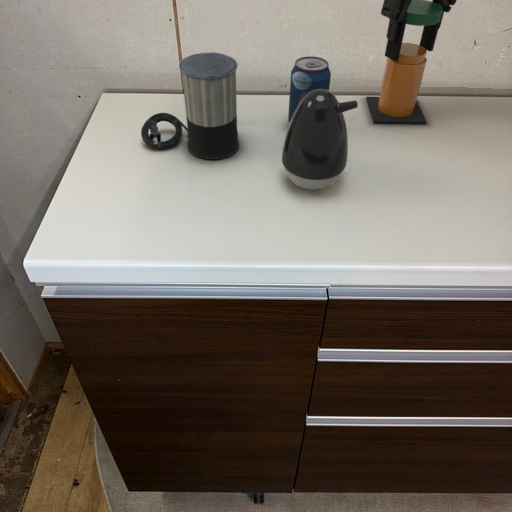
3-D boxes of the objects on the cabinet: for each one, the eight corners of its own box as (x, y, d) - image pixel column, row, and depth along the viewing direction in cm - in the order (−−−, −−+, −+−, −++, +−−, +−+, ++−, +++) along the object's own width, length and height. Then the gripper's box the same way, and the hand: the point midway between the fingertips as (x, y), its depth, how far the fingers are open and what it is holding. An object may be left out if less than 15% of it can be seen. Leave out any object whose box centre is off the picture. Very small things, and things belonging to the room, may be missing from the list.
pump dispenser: (338, 204, 73) (353, 113, 62) (273, 192, 75) (277, 101, 64) (349, 168, 79) (364, 80, 69) (289, 157, 82) (294, 71, 71)
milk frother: (248, 153, 82) (247, 69, 72) (161, 176, 77) (147, 89, 67) (216, 116, 91) (212, 37, 81) (137, 135, 86) (121, 53, 76)
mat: (414, 99, 97) (415, 97, 96) (426, 124, 90) (426, 121, 89) (366, 99, 97) (366, 96, 97) (373, 123, 90) (374, 120, 90)
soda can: (300, 139, 86) (306, 74, 77) (280, 122, 90) (284, 59, 82) (331, 129, 88) (340, 66, 80) (311, 114, 92) (317, 52, 84)
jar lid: (384, 13, 83) (386, 2, 81) (422, 8, 85) (424, -3, 83) (410, 28, 78) (413, 17, 76) (449, 22, 80) (453, 11, 78)
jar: (401, 97, 96) (414, 39, 88) (420, 113, 92) (437, 54, 83) (370, 103, 95) (382, 44, 86) (389, 119, 90) (402, 59, 82)
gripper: (473, -113, 75) (434, 35, 91) (374, -103, 68) (351, 57, 84) (512, -107, 71) (464, 49, 87) (411, -94, 63) (379, 73, 79)
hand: (408, 53), depth 85 cm, fingers closed on jar lid, 8 cm apart
